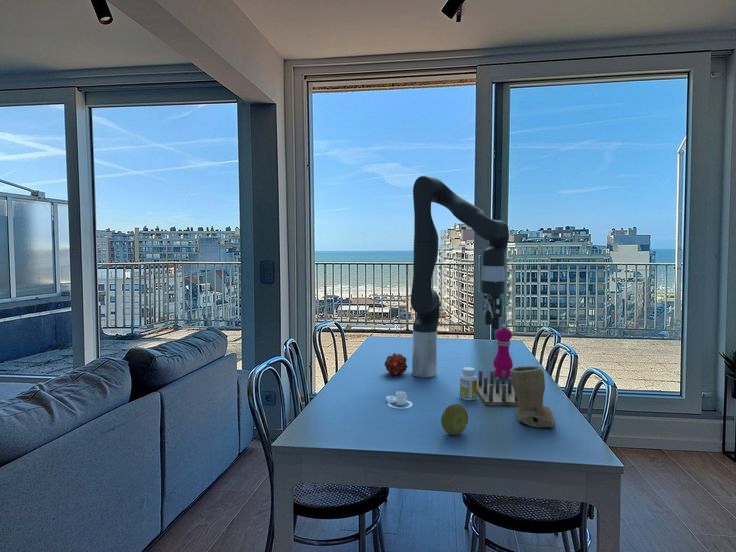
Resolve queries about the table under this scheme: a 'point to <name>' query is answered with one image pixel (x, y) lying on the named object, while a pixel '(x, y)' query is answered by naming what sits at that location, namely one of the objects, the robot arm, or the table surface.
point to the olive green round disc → (454, 419)
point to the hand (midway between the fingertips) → (491, 326)
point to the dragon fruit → (396, 364)
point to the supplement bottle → (468, 384)
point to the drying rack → (496, 391)
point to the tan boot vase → (531, 396)
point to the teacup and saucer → (398, 400)
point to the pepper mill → (503, 352)
